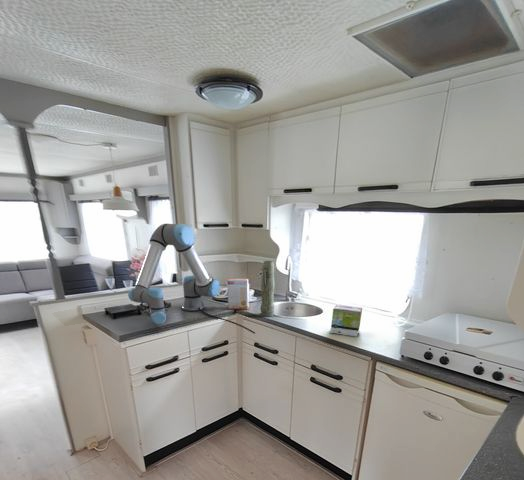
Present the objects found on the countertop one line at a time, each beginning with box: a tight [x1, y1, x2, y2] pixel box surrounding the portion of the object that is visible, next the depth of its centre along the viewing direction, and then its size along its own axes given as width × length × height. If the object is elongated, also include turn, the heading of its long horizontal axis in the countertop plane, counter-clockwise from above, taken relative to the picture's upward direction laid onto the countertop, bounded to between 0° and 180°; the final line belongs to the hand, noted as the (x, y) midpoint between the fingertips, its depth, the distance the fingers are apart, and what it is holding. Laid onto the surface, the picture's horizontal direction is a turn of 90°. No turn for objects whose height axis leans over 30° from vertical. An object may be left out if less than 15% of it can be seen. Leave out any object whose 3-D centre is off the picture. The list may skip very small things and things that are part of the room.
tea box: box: [330, 304, 363, 337], centre depth 183 cm, size 15×10×15 cm
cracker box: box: [227, 278, 250, 311], centre depth 228 cm, size 14×6×21 cm, turn 84°
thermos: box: [260, 260, 276, 318], centre depth 211 cm, size 9×12×35 cm
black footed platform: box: [103, 303, 142, 320], centre depth 214 cm, size 16×18×4 cm
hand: (153, 303), depth 209 cm, fingers open, 13 cm apart
